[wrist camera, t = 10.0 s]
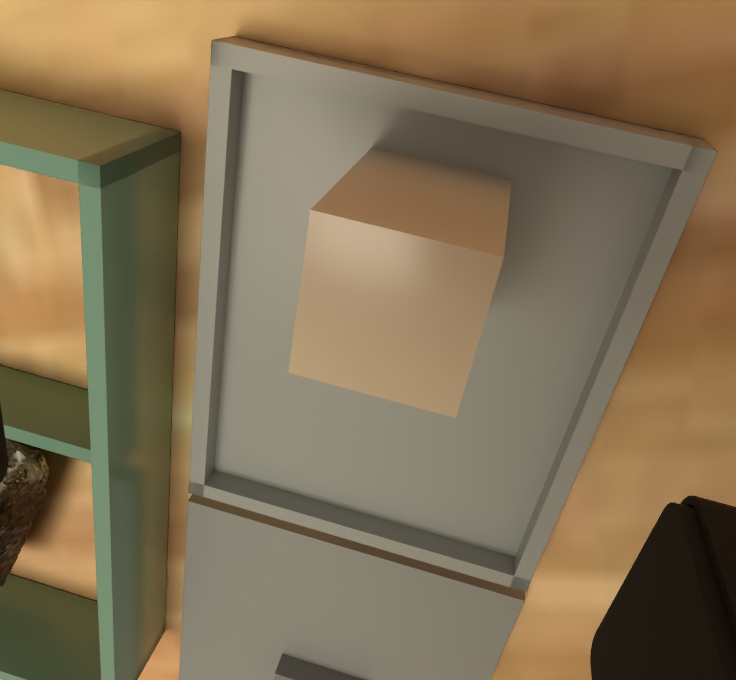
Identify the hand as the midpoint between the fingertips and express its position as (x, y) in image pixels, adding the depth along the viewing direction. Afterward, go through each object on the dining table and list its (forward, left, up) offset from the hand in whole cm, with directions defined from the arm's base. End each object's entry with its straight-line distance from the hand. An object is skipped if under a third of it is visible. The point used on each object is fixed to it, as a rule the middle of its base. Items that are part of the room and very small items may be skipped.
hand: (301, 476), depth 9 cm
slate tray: (0, +13, -12) cm, 18 cm away
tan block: (0, 0, -12) cm, 12 cm away
